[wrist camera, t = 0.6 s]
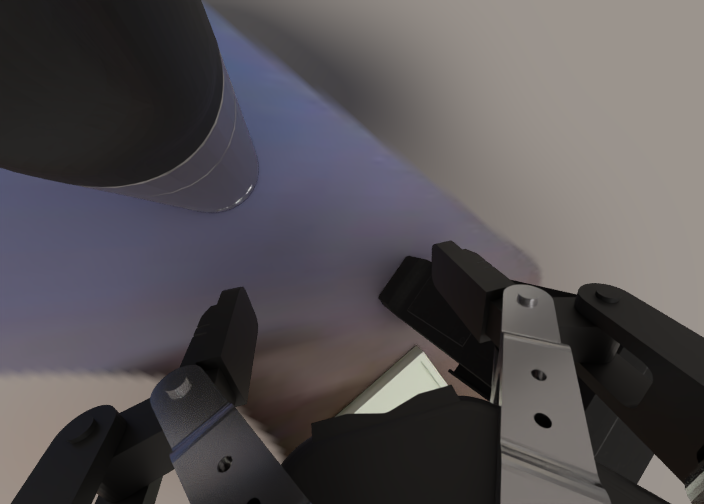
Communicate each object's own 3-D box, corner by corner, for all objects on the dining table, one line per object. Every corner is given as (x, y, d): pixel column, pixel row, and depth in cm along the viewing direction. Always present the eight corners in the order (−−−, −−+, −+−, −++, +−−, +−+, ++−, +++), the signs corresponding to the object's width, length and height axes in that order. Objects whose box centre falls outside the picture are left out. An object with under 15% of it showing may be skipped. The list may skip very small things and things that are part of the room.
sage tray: (326, 424, 32) (329, 435, 30) (416, 345, 34) (423, 351, 32) (391, 496, 35) (397, 510, 33) (470, 419, 37) (479, 429, 35)
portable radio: (408, 333, 34) (724, 595, 10) (370, 307, 32) (633, 539, 8) (443, 280, 34) (824, 403, 10) (408, 252, 33) (757, 318, 9)
